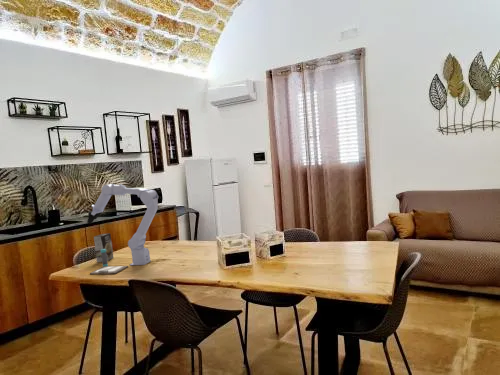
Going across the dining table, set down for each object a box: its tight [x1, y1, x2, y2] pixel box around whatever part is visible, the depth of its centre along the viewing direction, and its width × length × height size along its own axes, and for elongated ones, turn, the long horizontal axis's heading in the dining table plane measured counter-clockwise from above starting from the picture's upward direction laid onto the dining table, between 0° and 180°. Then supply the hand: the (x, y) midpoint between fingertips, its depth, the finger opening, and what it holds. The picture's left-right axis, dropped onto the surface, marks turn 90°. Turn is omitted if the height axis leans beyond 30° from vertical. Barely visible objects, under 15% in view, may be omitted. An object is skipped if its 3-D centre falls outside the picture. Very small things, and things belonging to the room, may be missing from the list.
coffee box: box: [93, 232, 114, 263], centre depth 233 cm, size 9×6×16 cm
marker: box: [101, 249, 109, 267], centre depth 217 cm, size 3×3×10 cm
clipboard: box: [89, 265, 129, 275], centre depth 207 cm, size 16×12×2 cm
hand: (91, 220), depth 220 cm, fingers open, 7 cm apart
